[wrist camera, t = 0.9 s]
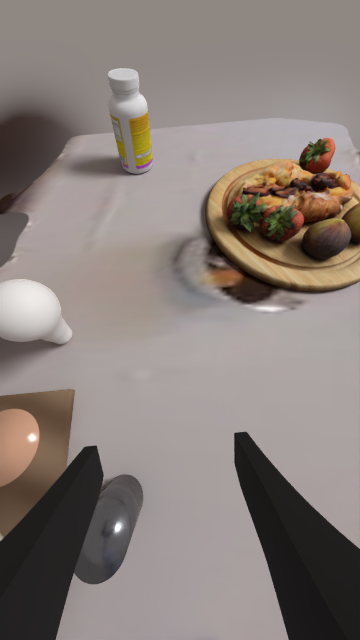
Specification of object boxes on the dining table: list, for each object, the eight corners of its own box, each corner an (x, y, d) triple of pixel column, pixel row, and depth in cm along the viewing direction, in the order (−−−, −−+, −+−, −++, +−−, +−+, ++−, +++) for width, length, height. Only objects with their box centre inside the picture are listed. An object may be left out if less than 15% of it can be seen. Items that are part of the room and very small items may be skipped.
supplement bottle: (156, 159, 44) (150, 68, 32) (147, 177, 41) (137, 85, 29) (127, 154, 44) (110, 62, 32) (117, 172, 41) (94, 79, 30)
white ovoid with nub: (31, 344, 26) (-58, 306, 16) (64, 309, 28) (3, 255, 18) (67, 368, 25) (-6, 342, 15) (98, 329, 27) (53, 283, 17)
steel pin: (143, 522, 19) (127, 579, 13) (101, 527, 19) (64, 588, 13) (142, 472, 21) (128, 500, 15) (104, 477, 21) (72, 508, 14)
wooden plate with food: (260, 152, 46) (276, 103, 39) (403, 215, 38) (458, 167, 31) (170, 228, 37) (167, 182, 29) (335, 334, 29) (391, 308, 21)
